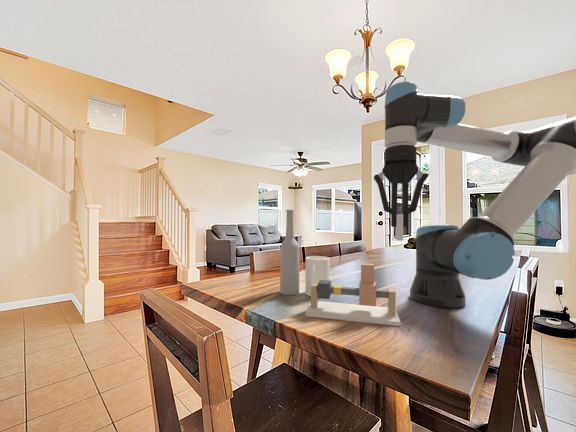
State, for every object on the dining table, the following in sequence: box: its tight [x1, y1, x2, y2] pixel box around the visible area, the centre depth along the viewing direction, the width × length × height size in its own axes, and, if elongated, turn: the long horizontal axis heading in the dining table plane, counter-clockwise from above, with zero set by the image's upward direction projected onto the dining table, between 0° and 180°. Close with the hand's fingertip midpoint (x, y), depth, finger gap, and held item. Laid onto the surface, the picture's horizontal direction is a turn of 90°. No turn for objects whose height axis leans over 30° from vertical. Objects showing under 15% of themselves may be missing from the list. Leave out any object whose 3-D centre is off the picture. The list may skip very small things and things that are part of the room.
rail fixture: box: [304, 280, 402, 327], centre depth 72 cm, size 23×10×8 cm, turn 75°
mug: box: [304, 255, 331, 297], centre depth 89 cm, size 12×8×12 cm
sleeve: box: [358, 263, 377, 306], centre depth 71 cm, size 4×5×10 cm
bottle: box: [279, 209, 300, 296], centre depth 91 cm, size 7×7×28 cm
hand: (399, 239), depth 69 cm, fingers closed
